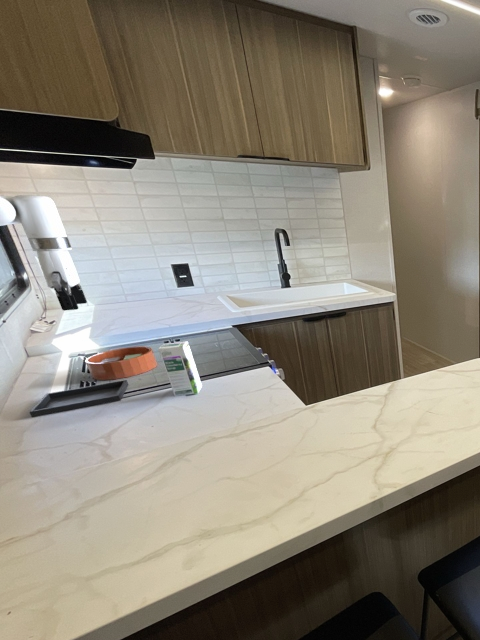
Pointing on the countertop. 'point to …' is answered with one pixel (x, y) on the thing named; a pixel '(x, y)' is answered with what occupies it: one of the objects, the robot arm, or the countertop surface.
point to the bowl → (121, 363)
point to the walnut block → (111, 360)
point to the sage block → (131, 356)
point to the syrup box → (180, 368)
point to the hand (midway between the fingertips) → (75, 306)
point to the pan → (79, 398)
